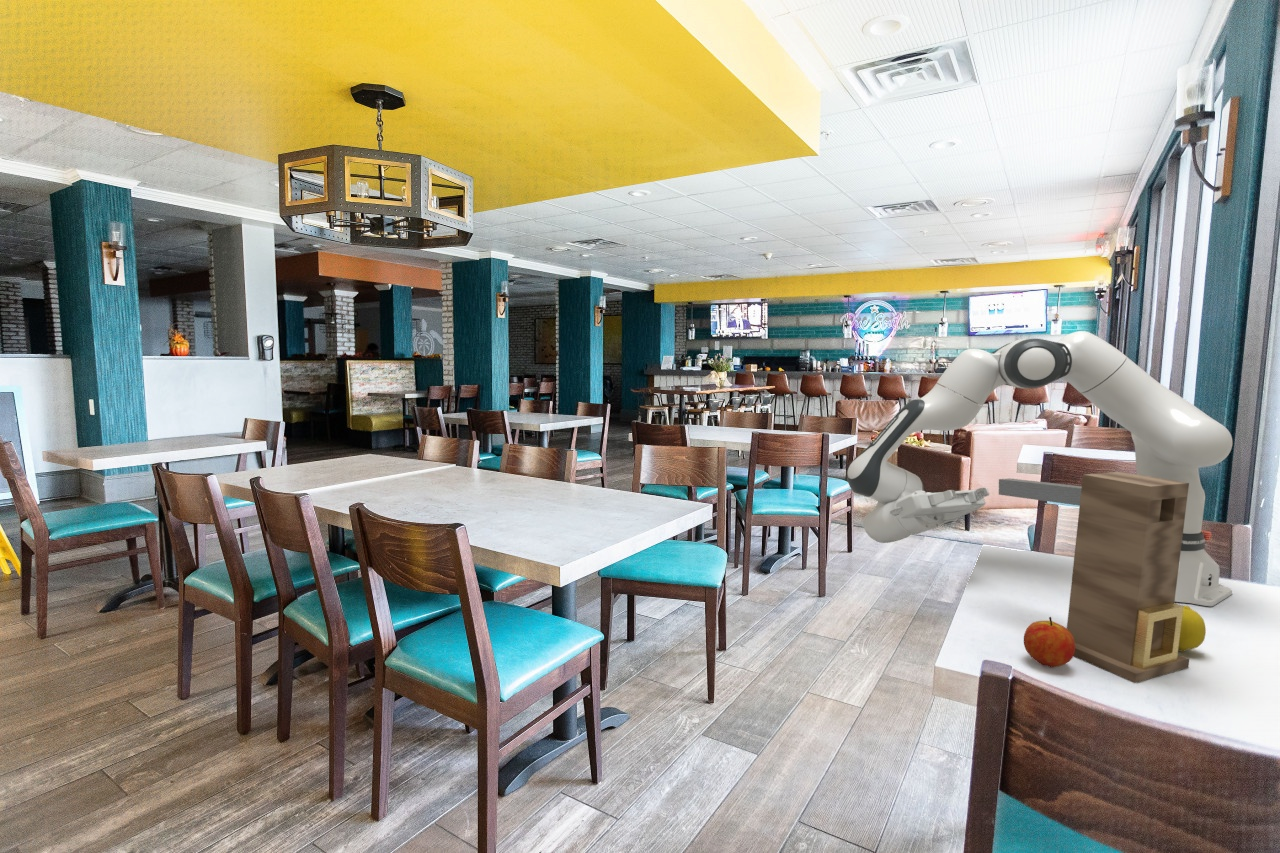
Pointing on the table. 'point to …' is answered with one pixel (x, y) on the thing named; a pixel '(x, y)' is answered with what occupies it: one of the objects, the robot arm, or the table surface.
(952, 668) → the table surface
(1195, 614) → the lemon
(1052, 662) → the fruit
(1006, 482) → the shaft
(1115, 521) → the block
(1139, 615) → the frame
